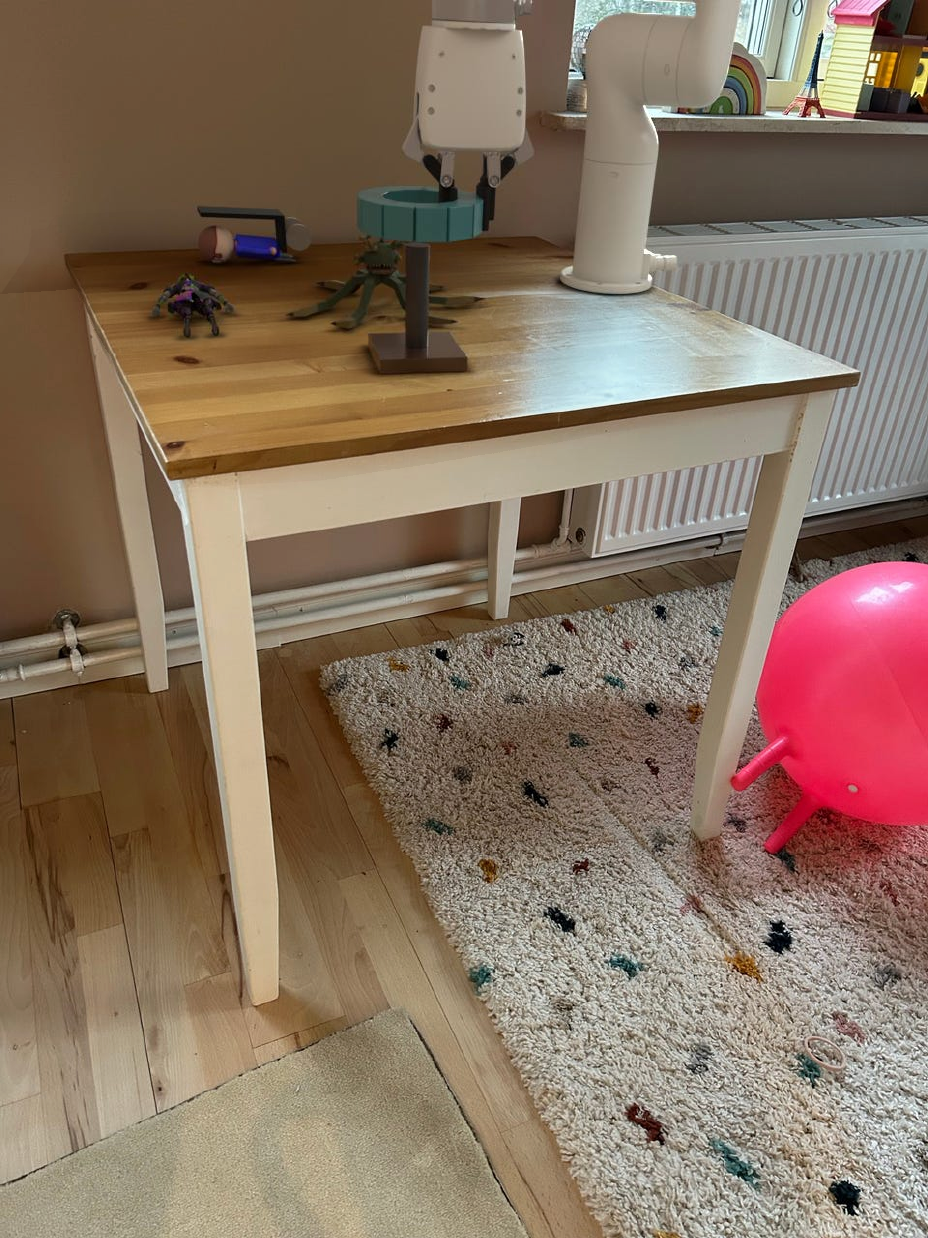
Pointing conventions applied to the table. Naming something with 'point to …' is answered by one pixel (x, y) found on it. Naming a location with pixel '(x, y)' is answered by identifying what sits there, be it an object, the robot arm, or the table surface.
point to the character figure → (192, 302)
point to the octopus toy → (378, 270)
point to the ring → (418, 214)
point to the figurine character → (221, 244)
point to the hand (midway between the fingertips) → (465, 226)
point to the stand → (416, 328)
